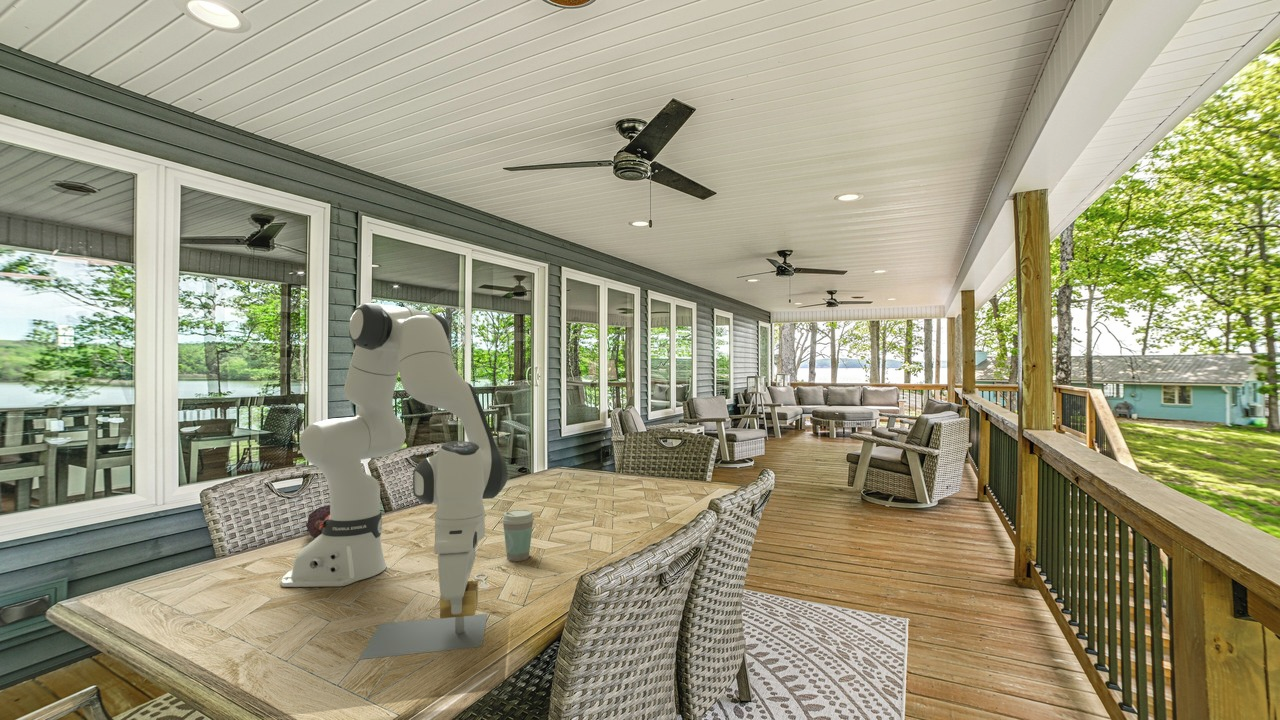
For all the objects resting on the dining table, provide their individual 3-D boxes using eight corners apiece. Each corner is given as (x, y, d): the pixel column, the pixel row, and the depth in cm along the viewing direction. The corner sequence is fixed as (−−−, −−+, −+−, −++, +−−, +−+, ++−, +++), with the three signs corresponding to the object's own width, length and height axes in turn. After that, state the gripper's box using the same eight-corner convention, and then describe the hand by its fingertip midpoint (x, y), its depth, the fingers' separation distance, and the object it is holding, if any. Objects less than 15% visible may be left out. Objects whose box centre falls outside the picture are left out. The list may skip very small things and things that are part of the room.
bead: (440, 618, 94) (440, 596, 94) (445, 604, 100) (445, 583, 100) (474, 615, 96) (474, 593, 96) (478, 601, 101) (478, 580, 102)
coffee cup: (504, 552, 146) (504, 509, 146) (535, 551, 146) (535, 508, 147) (499, 563, 137) (499, 517, 137) (532, 562, 138) (532, 516, 138)
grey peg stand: (358, 668, 88) (358, 612, 88) (380, 631, 101) (380, 582, 101) (481, 654, 92) (481, 601, 92) (487, 621, 105) (487, 574, 105)
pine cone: (297, 536, 161) (297, 504, 162) (332, 529, 169) (332, 498, 169) (317, 548, 150) (318, 513, 150) (354, 540, 157) (354, 506, 158)
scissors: (477, 571, 131) (532, 589, 119) (477, 574, 131) (532, 593, 119) (439, 585, 122) (493, 607, 111) (439, 589, 122) (493, 610, 111)
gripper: (450, 515, 108) (450, 583, 107) (432, 547, 88) (431, 631, 87) (482, 513, 109) (482, 580, 109) (471, 545, 89) (471, 627, 89)
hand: (459, 603), depth 98 cm, fingers closed on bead, 6 cm apart
